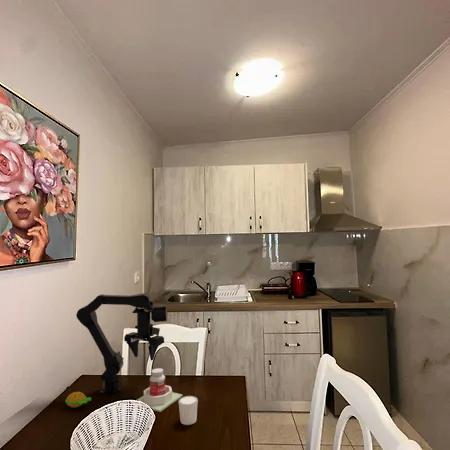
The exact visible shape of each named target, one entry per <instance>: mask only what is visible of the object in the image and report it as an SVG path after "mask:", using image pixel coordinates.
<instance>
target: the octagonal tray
mask: <svg viewBox="0 0 450 450" xmlns="http://www.w3.org/2000/svg"><path fill="white" fill-rule="evenodd" d="M182 397H183V394H181V393H179V392H178V393H177V392H173V390H172V386H170V385H167V384H165V394H164V395H160V396H150V386H149V387H147V388H145V389H144V390H143V396H141V397H139V398H137V399H136V400H139V401H142V402H144V403H146V404H148V405H149V406H150V407H151V408H152V409H153V410H152V411H155V412H159V413H161V412H163V411H164V410H165V409H166V408H168V407H170V406H171V405H172V404H173V403H175V402H176V401H179V399H181V398H182Z"/></svg>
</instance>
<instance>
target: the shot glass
mask: <svg viewBox="0 0 450 450" xmlns="http://www.w3.org/2000/svg"><path fill="white" fill-rule="evenodd" d="M198 402H199V400H198V397H196V396H193V395H186V396H182V397H181V398H179V399H178V408H179V410H178V411H179V419H180V424H183V425H185V426H189V425H193V424H195V423H196V422H197V420H198V419H197V416H198Z"/></svg>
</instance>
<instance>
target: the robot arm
mask: <svg viewBox="0 0 450 450" xmlns="http://www.w3.org/2000/svg"><path fill="white" fill-rule="evenodd" d="M102 305H112V306H113V305H121V306H131V307H133V308H134V307H135V309H134V310H132V312H131V313H132V314H136V325H135V326H134V328H135V329H136V332H135V331H131V332H129V333H126V334H125V335H124V339H123V341H124V342H126V344H127V345H128V347H129V349H130V350H131V352H132V354H133V356H134V358H138V356H139V343H140V341H142V342H148V345H147V347H148V352H149V358H150V361H154V359H155V356H156V352H157V350H158V348H159V346H162V344H164V343H165V337H164V336H162V335H160V331H161V330H160V329H161V328H158V327H154V324H153V323H151V321H152V322H154V323H162V322H164V323H166V322H168V308H167V305H162V306H160V305H159V306H156V305H155V303H154V302H153V301H152V297H151V295H149V293H146V292H144V293H137V294H131V295H123V294H122V295H121V294H115V295H114V294H99V295H97V296H96V297H95V298H94V299H93V300H92V301H91V302H89V303H88V304H87V305H85V306H82V307H81V308H79V309H78V310H77V312H76V319H77V320H78V321H79V323H81V325H83V326H84V327H85V328H86V329H87V330H88V331H89V334H90V335H91V337H92V339H93V341H94V342H95V345H96V346H97V348H98V350H99V352H100V353H101V356H103V364H104V368H105V370H104V371H103V373H102V374H101V375H100V378H101V381H102V390H99V394H103V395H106V396H112V395H114V394H115V393H116V394H117V393H118V392H119V391H121V390H122V388H121V387H120V381H119V376H118V374H119V373H120V372H121V370H122V368H123V366H124V359H125V358H124V357H123V356H122V354H121V351H117V352H116V351H115V350H113V347H112V346H111V344H110V342H109V340H108V339H107V337H106V335H105V333H104V331H103V330H102V328H101V326H100V325H99V322H98V316H97V315H98V314H97V313H96V311H97V310H98V309H99V308H100V307H102Z"/></svg>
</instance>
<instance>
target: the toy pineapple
mask: <svg viewBox="0 0 450 450" xmlns="http://www.w3.org/2000/svg"><path fill="white" fill-rule="evenodd" d="M64 401H65V404H66V405H67V406H68V407H70V408H72V409H73V408H79V407H81V406H82V405H83V404H88V402H90V401H92V397H89V396H88V397H87V396H86V395H85V394H84V392H81V391H74V392H72V393H70V394H69V395H68V396H67V397H66V398H65V400H64Z"/></svg>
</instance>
